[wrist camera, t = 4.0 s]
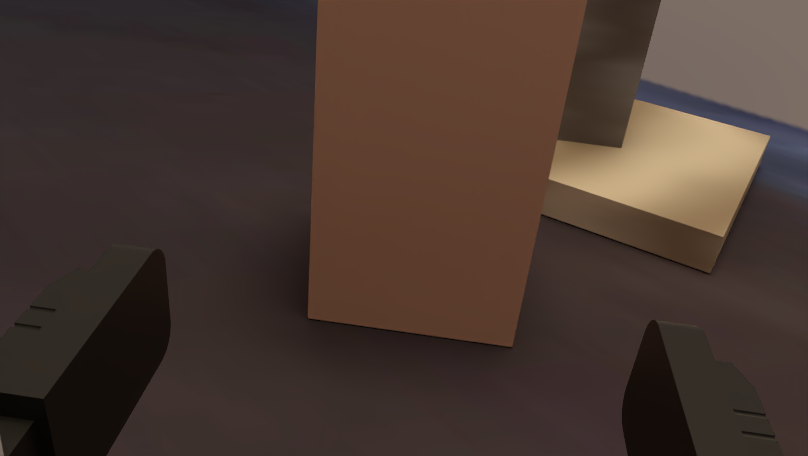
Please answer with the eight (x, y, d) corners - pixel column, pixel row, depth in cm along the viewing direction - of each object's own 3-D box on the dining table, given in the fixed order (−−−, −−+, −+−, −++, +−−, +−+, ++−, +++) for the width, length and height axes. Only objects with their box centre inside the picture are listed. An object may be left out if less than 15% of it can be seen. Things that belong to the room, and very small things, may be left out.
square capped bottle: (307, 318, 22) (320, -84, 16) (343, 216, 27) (363, -115, 21) (512, 347, 22) (598, -51, 16) (509, 239, 27) (573, -91, 21)
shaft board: (373, 154, 32) (390, -56, 27) (485, 86, 40) (512, -83, 36) (709, 273, 26) (799, 32, 22) (759, 166, 34) (830, -24, 30)
